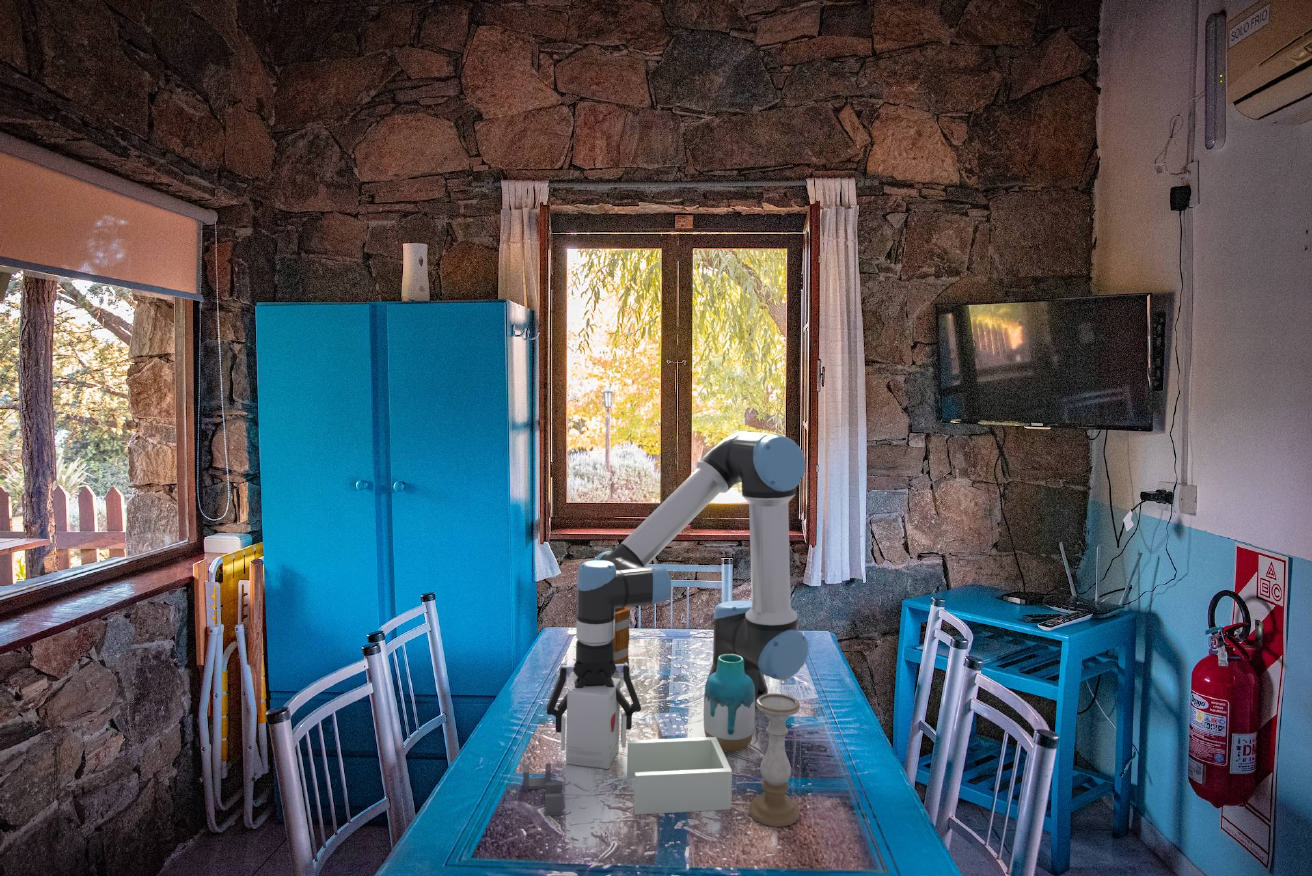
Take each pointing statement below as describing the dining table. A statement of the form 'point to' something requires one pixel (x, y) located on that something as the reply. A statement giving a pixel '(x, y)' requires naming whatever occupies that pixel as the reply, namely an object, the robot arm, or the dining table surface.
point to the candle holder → (775, 765)
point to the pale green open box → (679, 775)
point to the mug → (621, 635)
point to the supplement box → (592, 725)
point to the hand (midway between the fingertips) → (593, 745)
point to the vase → (730, 704)
